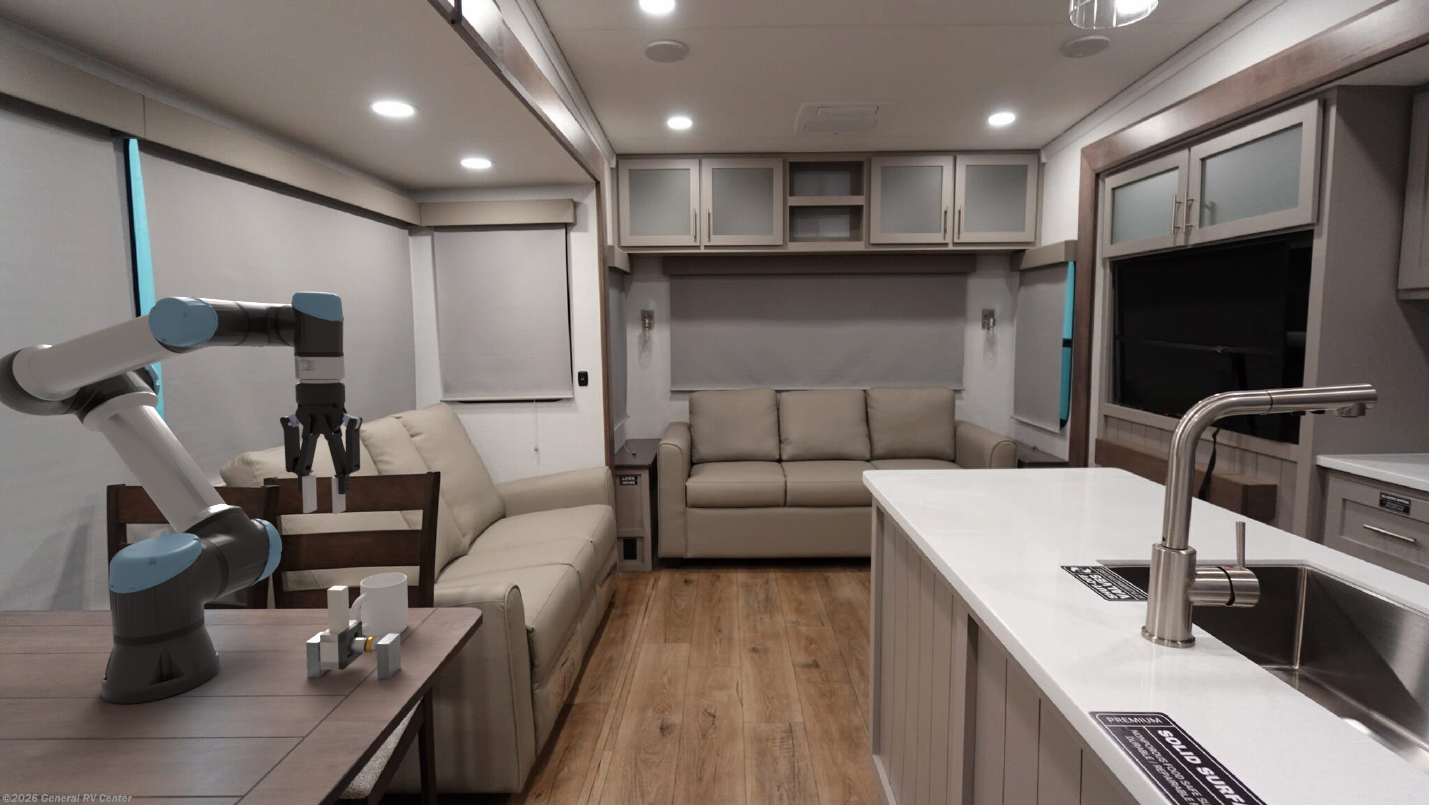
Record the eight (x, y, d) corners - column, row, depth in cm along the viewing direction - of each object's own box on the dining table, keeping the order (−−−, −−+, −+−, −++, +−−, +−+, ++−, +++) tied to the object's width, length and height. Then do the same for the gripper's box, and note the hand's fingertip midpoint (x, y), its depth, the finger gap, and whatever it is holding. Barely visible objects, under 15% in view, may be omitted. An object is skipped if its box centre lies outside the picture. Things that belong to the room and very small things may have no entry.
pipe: (307, 677, 112) (306, 641, 111) (321, 666, 115) (320, 631, 115) (389, 679, 111) (388, 643, 111) (400, 667, 115) (399, 633, 115)
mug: (367, 651, 121) (365, 597, 121) (334, 643, 124) (332, 590, 124) (417, 625, 133) (416, 576, 132) (386, 618, 136) (385, 570, 135)
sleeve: (320, 669, 110) (318, 594, 109) (341, 652, 116) (339, 581, 115) (343, 670, 110) (340, 594, 109) (362, 653, 116) (360, 581, 115)
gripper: (255, 381, 112) (261, 516, 114) (358, 383, 111) (362, 518, 113) (284, 379, 119) (289, 505, 121) (381, 381, 119) (384, 507, 121)
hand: (324, 511), depth 117 cm, fingers open, 4 cm apart
